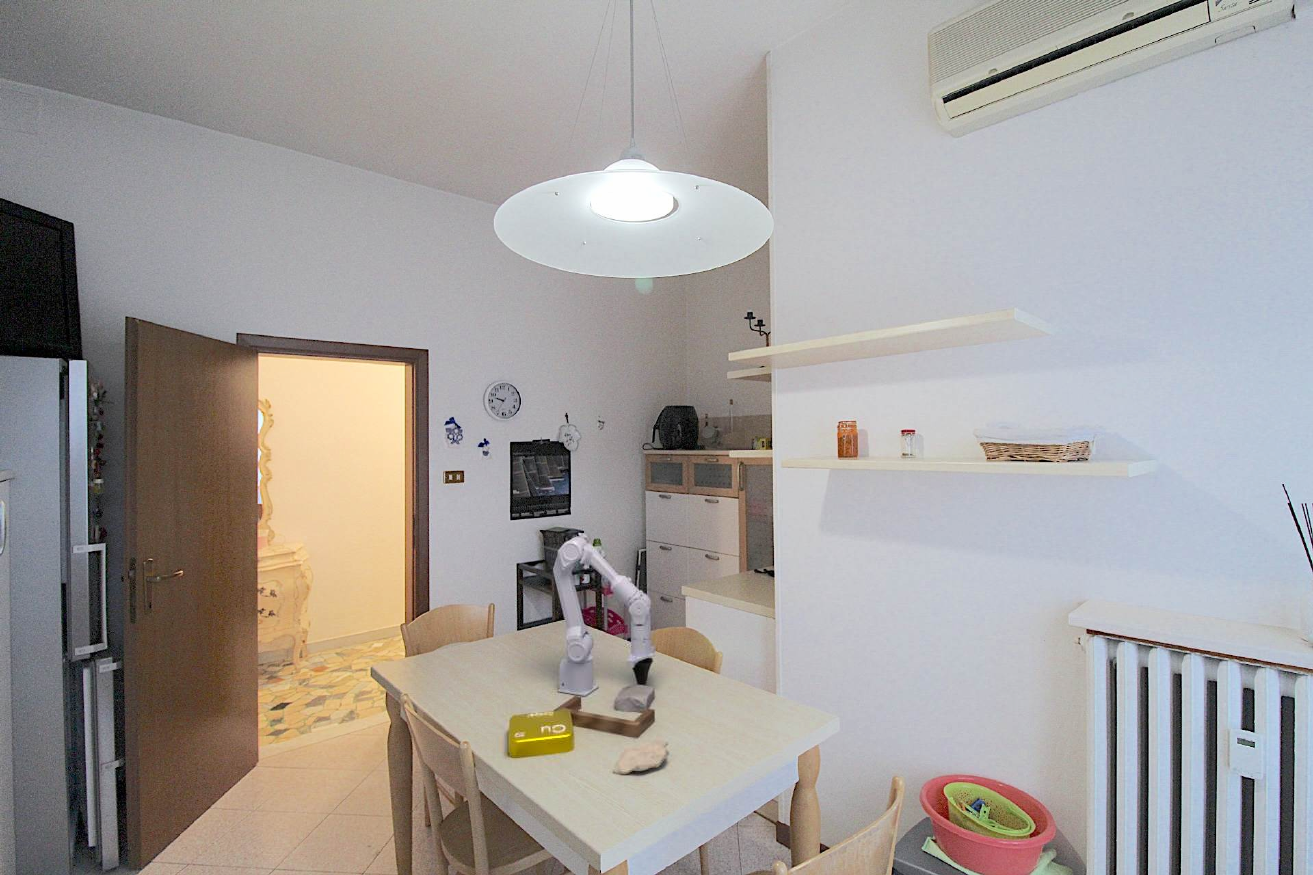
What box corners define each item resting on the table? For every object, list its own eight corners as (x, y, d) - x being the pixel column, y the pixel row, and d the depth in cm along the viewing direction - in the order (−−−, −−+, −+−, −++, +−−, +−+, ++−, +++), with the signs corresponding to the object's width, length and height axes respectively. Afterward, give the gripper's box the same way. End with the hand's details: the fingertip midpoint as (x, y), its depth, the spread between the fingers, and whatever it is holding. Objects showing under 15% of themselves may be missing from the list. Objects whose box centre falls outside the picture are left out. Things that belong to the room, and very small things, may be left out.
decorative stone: (649, 745, 148) (602, 775, 137) (646, 728, 148) (599, 758, 137) (683, 753, 140) (635, 786, 129) (680, 736, 140) (632, 767, 130)
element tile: (570, 725, 159) (569, 706, 159) (574, 753, 144) (574, 732, 144) (509, 732, 156) (509, 712, 156) (508, 761, 141) (508, 739, 141)
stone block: (613, 718, 166) (649, 713, 164) (609, 700, 166) (645, 694, 165) (624, 702, 178) (657, 697, 176) (620, 685, 178) (654, 680, 176)
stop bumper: (554, 721, 160) (553, 709, 160) (575, 706, 169) (574, 695, 169) (637, 738, 150) (637, 725, 150) (654, 721, 159) (654, 709, 159)
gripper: (642, 646, 172) (643, 695, 171) (663, 632, 185) (664, 678, 184) (619, 643, 175) (620, 692, 174) (642, 629, 188) (643, 674, 187)
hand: (641, 684), depth 180 cm, fingers closed
